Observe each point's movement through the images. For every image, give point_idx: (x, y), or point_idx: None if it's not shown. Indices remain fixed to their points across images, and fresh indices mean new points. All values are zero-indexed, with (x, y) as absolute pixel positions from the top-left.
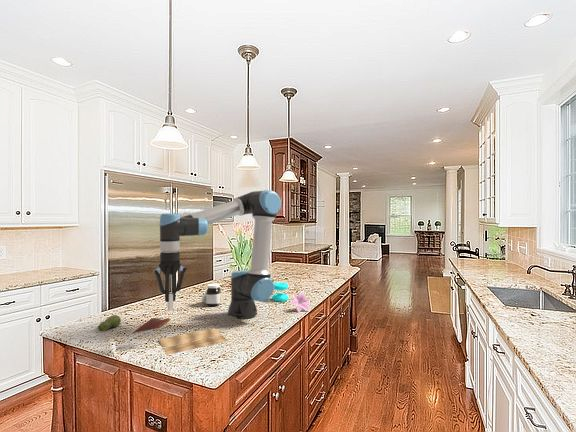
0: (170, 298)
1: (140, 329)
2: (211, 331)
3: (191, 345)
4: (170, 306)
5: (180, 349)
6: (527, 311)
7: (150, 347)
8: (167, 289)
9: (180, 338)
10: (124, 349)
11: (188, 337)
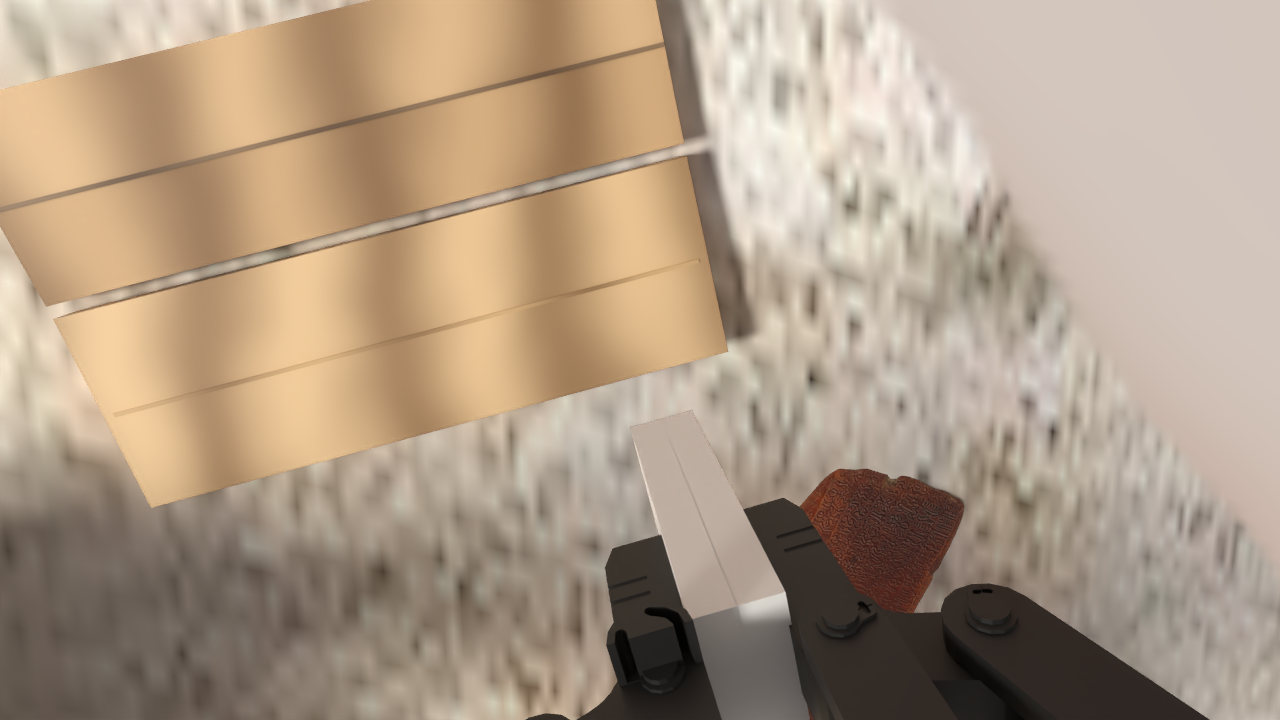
0: (722, 531)
1: None
2: (185, 427)
3: (392, 110)
4: (684, 447)
5: (508, 32)
6: None
7: (783, 271)
8: (888, 693)
9: (517, 325)
10: (981, 293)
11: (435, 328)
